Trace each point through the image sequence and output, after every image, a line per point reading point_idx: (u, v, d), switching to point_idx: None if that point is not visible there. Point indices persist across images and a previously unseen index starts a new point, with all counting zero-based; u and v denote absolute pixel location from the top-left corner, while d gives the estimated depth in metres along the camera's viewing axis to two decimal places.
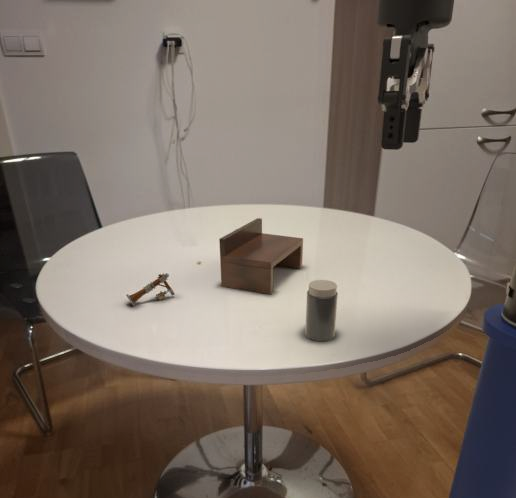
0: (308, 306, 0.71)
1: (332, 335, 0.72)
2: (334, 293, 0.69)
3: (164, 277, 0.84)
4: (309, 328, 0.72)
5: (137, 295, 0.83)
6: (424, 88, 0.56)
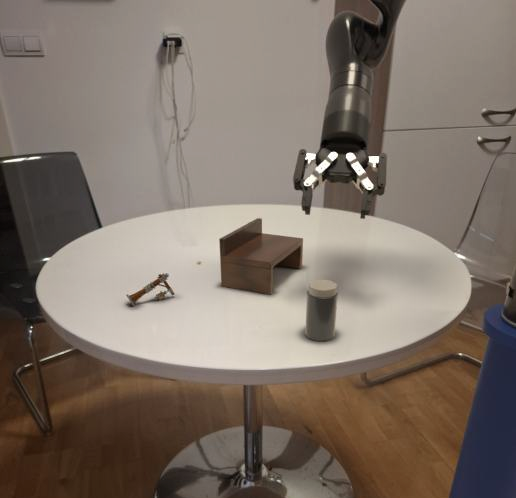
0: (308, 306, 0.71)
1: (332, 335, 0.72)
2: (334, 293, 0.69)
3: (164, 277, 0.84)
4: (309, 328, 0.72)
5: (137, 295, 0.83)
6: (358, 176, 0.75)
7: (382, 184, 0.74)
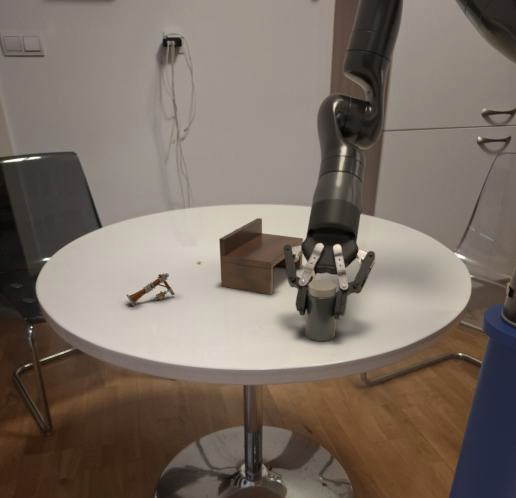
0: (308, 306, 0.71)
1: (332, 335, 0.72)
2: (334, 293, 0.69)
3: (164, 277, 0.84)
4: (309, 328, 0.72)
5: (137, 295, 0.83)
6: (337, 272, 0.70)
7: (357, 284, 0.69)
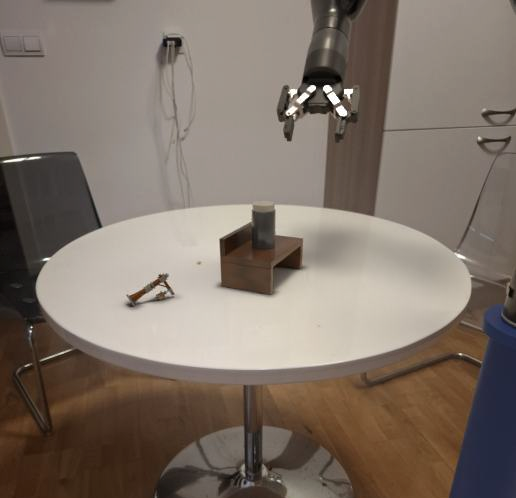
0: (252, 221, 0.90)
1: (272, 245, 0.91)
2: (272, 209, 0.88)
3: (164, 277, 0.84)
4: (254, 239, 0.91)
5: (137, 295, 0.83)
6: (333, 105, 0.84)
7: (354, 111, 0.83)
